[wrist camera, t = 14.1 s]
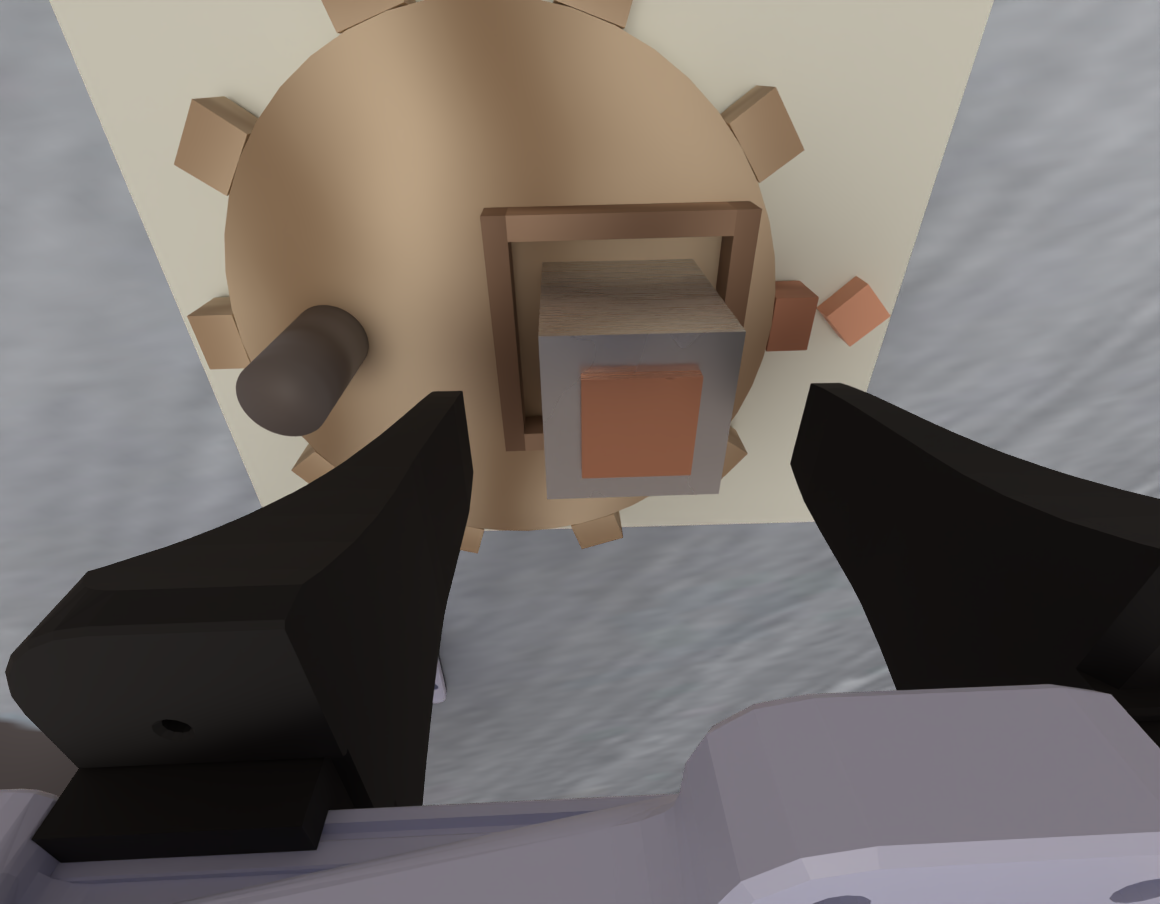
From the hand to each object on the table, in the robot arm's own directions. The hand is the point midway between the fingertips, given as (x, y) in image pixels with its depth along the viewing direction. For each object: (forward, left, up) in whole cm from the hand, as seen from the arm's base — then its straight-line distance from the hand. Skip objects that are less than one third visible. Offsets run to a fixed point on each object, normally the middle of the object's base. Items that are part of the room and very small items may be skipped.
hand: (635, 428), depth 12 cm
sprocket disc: (0, +3, -7) cm, 7 cm away
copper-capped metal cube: (0, 0, -5) cm, 5 cm away
